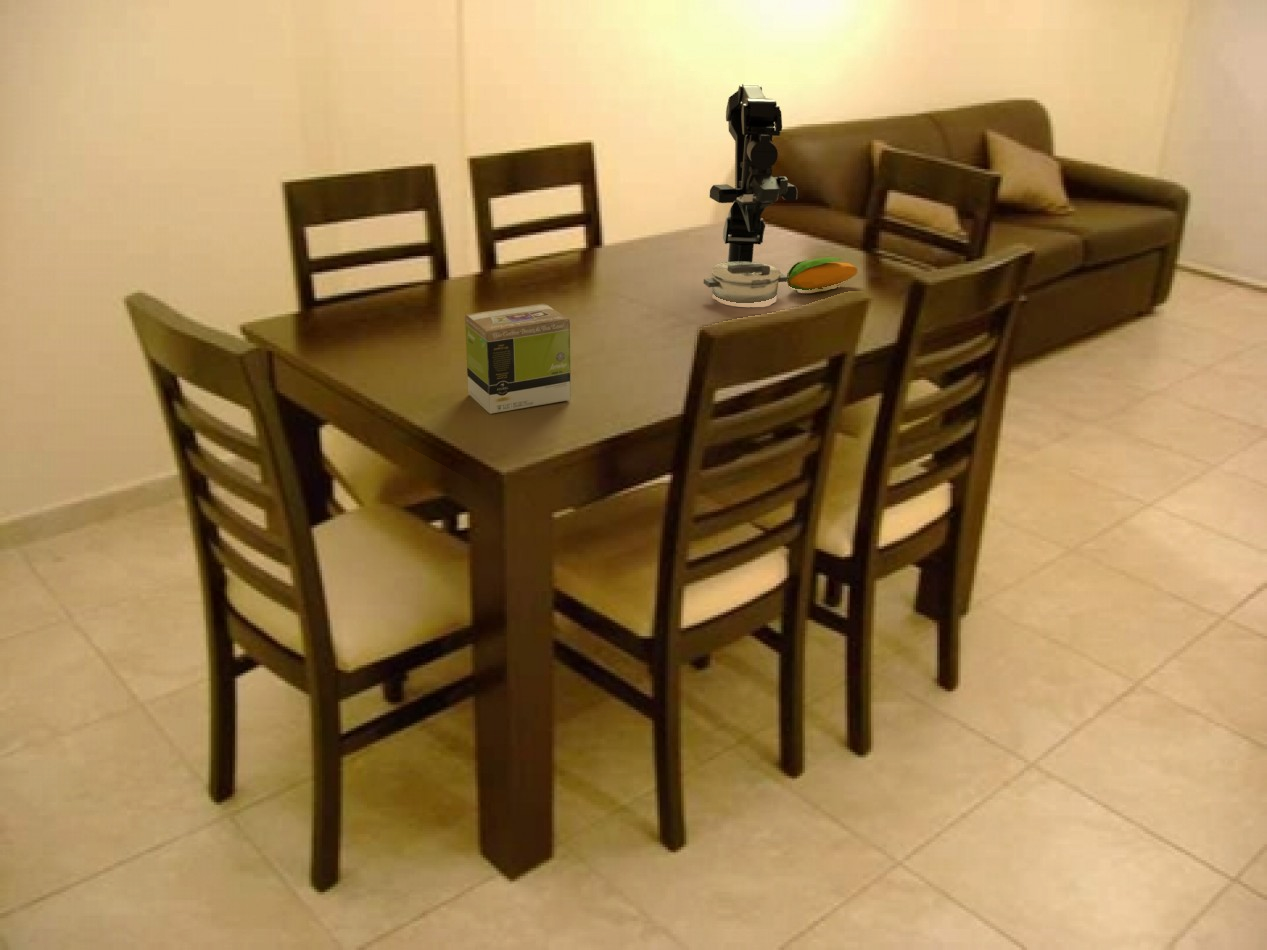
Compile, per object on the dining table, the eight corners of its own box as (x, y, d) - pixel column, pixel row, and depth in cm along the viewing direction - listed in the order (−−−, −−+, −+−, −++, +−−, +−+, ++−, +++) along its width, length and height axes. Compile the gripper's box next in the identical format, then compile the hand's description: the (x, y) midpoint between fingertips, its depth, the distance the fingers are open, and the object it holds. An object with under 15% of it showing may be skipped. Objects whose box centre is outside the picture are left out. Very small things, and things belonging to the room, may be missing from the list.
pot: (692, 291, 262) (694, 269, 260) (768, 286, 268) (770, 264, 266) (718, 311, 251) (720, 287, 248) (796, 304, 257) (799, 281, 254)
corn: (779, 257, 262) (847, 246, 272) (775, 290, 265) (841, 278, 276) (802, 268, 256) (869, 257, 267) (797, 302, 260) (864, 289, 270)
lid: (701, 268, 261) (702, 256, 260) (762, 264, 266) (763, 252, 265) (729, 287, 248) (730, 275, 247) (793, 282, 253) (794, 270, 252)
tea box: (546, 382, 211) (547, 301, 204) (571, 402, 203) (572, 318, 196) (466, 394, 204) (464, 311, 198) (488, 416, 196) (486, 329, 190)
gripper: (732, 168, 247) (726, 243, 254) (812, 165, 253) (805, 238, 260) (710, 158, 257) (706, 230, 263) (789, 155, 263) (782, 225, 269)
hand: (750, 231), depth 264 cm, fingers closed
